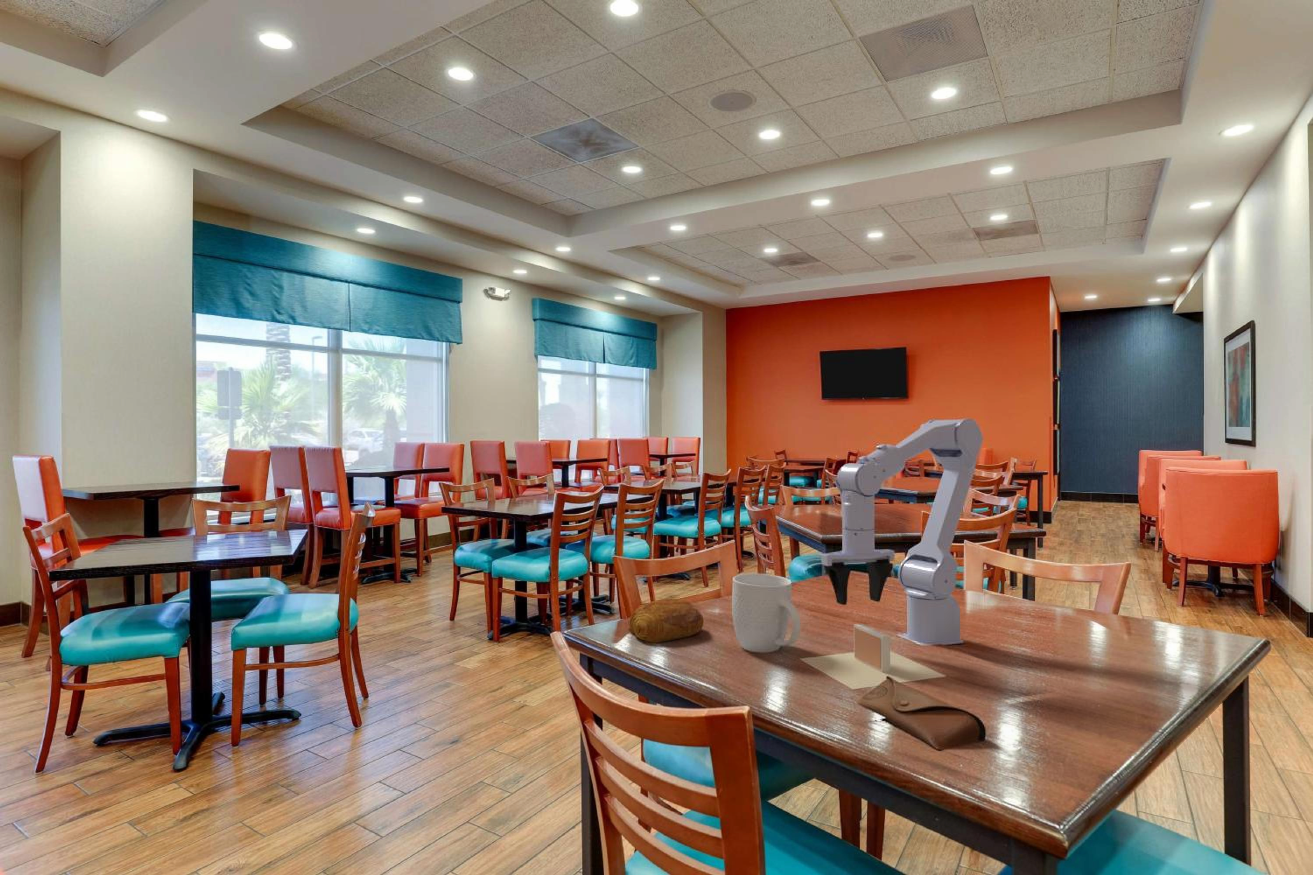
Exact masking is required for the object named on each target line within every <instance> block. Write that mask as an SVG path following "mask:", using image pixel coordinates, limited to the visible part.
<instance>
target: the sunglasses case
mask: <svg viewBox="0 0 1313 875" xmlns="http://www.w3.org/2000/svg"><path fill="white" fill-rule="evenodd" d="M856 704H858V705H859V706H861V707H862V708H865V709H867V710H869V711H871V712H872V713H875V714H877V715H879V716H881V717H882V718H880V720H882V721H883V722H886V723H888V724H889V725H891V726H893V727H895V728H897V729H899V730H900V731H903V732H905V733H906V734H908V735H910V736H912V737H914V738H915V739H918V740H919V741H921V742H923V743H924V744H926V745H927V746H929V747H930V748H931V749H932V748H933V749H935V750H937V751H940V752H942V751H945V750H947V749H952V748H957V747H961V746H962V747H963V746H965V745H971V744H973V743H978V742H981V741H982V742H985V740H986V734H987V730H986V727H985V724H984V723H983V721H982V720H981V719H980V717H978V716H977V715H975V714H974V713H972V712H970V711H968V710H967V709H966V710H965V709H962V708H960V707H956V706H953V705H951V704H949V703H947V702H945V701H943V700H942V699H941V700H940V699H938V698H937V697H934V696H932V695H930V694H927V693H925V692H923V691H920V690H918V689H916V688H913V687H911V686H908V685H906V684H904V683H899V682H897V681H896V680H894V679H893V678H891V677H889V676H886V680H885V681H883V682H882V683H881V684H879V685H878V686H875V687H874V688H872V689H871V691H869V692H867V693H866V694H865V695H864V696H862V697H861V698H860V699H859V700H858V701H857V702H856Z"/></svg>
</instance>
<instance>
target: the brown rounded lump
mask: <svg viewBox="0 0 1313 875" xmlns="http://www.w3.org/2000/svg"><path fill="white" fill-rule="evenodd" d="M628 626H629V628H628V630H629V633H630V634H631V635H633V636H635V637H637V638H638V639H640V640H643V641H645V642H647V643H653V644H655V643H660V642H668V641H675V640H678V639H683V638H685V637H689V636H694V635H695V634H697V633H699V632H701V630H702V629H703V627H704V617H703V615H702V613H701V611H700V610H699V609H698V608H697V607H695V606H694V605H693V604H692V603H691V602H690V601H687V600H683V599H677V598H667V597H666V598H660V599H656V600H654V601H651V602H647V603H645V604H641V605H640V606H639V607H637V608H636V609H635V610H634V612H633V613H632V614H631V617H630V618H629V621H628Z"/></svg>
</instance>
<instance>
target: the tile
mask: <svg viewBox="0 0 1313 875" xmlns="http://www.w3.org/2000/svg"><path fill="white" fill-rule="evenodd" d="M890 651H891V635H890V634H887V633H884V632H883V631H880V630H877V629H875V628H873V627H870V626H868V625H865V624H864V623H856V624H855V623H854V624H853V652H854V659H856V660H858V661H860V662H862V663H864V664H866V665H868V666H870V667H872V668H874V669H876V670H878V671H880V672H890Z"/></svg>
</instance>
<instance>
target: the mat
mask: <svg viewBox="0 0 1313 875" xmlns="http://www.w3.org/2000/svg"><path fill="white" fill-rule="evenodd" d="M799 660H801V661H802V662H804V663H806V664H808V665H809V666H811V667H813V668H814V669H816V670H818V671H819V672H821V673H823V674H825V675H827V676H828V677H830V678H832V679H833V680H835V681H837V682H839V683H841V685H844V686H846V687H848V688H849V689H851V690H860V689H865V688H867V689H868V688H873V687H874V688H875V687H877V686H878V685H879V684H881V683H882V682H883V681H885V680H886V676H889V677H891V678H893V679H894V680H896V681H897V682H899V683H902V684H904V683H909V682H916V681H917V682H918V681H923V680H929V679H930V680H931V679H937V678H944V677H947V676H946V675H945V674H943V673H941V672H939V671H937V670H934V669H931V668H929V667H927V666H926V665H922V664H921V663H918V662H915V661H914V660H911V659H909V658H907V657H905V656H903V655H900V654H898V653H896V652H893V651H892V650H890V672H880V671H878V670H876V669H874V668H872V667H870V666H868V665H866V664H864V663H862V662H860V661H858V660H856V659H854V651H852V652H845V653H844V652H843V653H837V654H829V655H821V656H820V655H819V656H811V657H810V656H809V657H805V658H804V657H803V658H799Z"/></svg>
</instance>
